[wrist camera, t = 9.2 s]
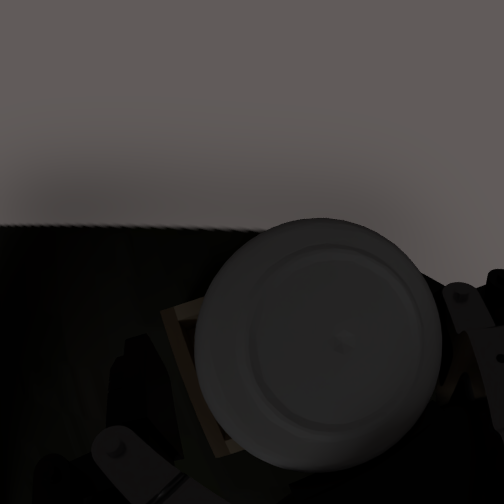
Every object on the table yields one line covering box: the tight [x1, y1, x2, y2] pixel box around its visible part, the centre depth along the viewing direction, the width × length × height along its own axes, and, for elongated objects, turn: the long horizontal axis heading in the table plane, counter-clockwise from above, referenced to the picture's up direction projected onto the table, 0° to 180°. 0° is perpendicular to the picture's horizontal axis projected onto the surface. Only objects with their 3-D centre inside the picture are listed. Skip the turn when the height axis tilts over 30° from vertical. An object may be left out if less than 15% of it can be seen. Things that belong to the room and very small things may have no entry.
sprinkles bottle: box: [194, 218, 442, 473], centre depth 10 cm, size 5×5×14 cm
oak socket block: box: [160, 296, 244, 458], centre depth 15 cm, size 8×8×4 cm
